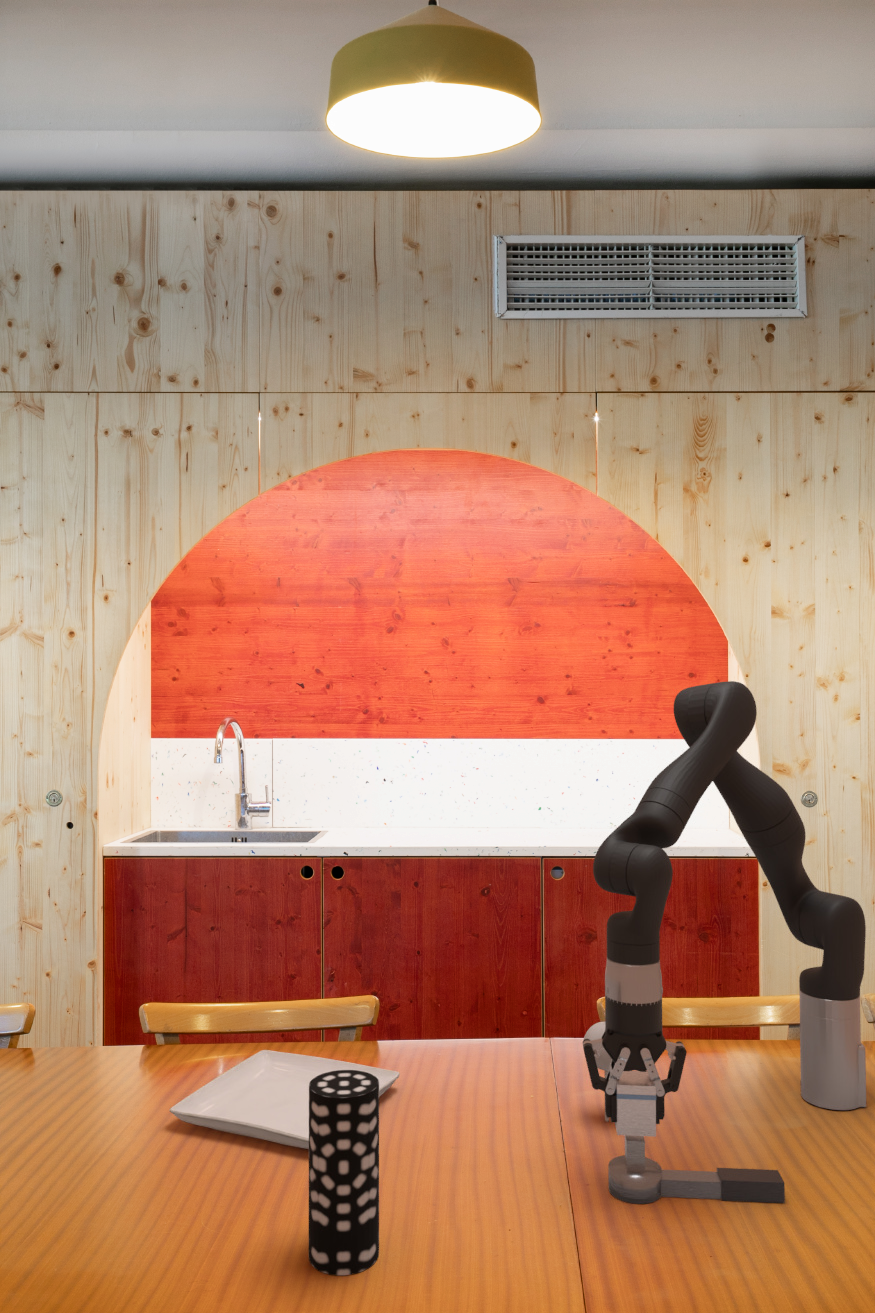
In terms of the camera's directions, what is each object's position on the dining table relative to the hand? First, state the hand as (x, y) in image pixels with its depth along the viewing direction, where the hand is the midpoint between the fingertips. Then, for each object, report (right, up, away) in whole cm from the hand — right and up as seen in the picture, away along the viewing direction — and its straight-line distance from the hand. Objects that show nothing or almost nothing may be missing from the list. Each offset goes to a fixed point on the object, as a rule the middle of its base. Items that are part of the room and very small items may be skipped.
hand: (634, 1120), depth 131 cm
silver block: (0, -1, 0) cm, 1 cm away
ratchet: (+8, -9, -1) cm, 12 cm away
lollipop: (0, -10, +21) cm, 23 cm away
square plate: (-50, -11, +25) cm, 57 cm away
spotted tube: (-37, -9, -15) cm, 41 cm away
